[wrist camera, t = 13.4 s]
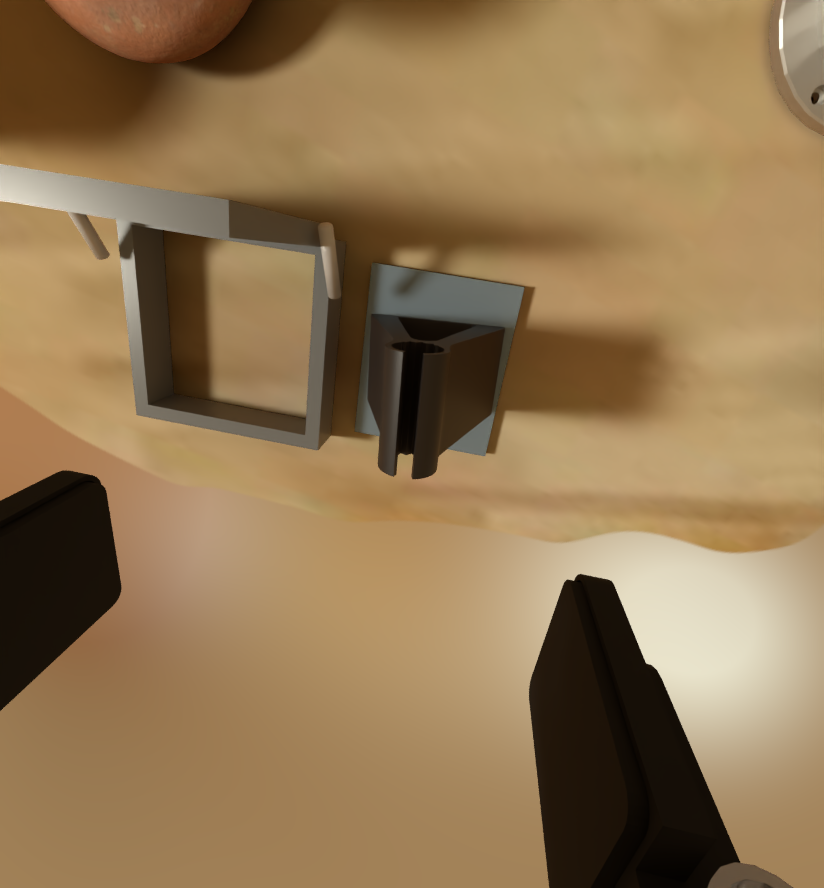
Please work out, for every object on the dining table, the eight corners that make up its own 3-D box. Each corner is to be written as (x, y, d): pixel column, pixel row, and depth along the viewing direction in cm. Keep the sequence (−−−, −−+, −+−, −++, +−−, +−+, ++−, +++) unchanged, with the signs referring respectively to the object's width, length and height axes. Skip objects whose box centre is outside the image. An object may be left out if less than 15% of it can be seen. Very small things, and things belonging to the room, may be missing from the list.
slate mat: (523, 287, 29) (524, 287, 28) (485, 453, 34) (485, 456, 33) (373, 262, 30) (371, 262, 29) (356, 428, 34) (354, 431, 34)
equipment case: (362, 230, 29) (256, 201, 15) (343, 438, 35) (253, 552, 21) (132, 194, 30) (-159, 137, 16) (151, 401, 36) (-53, 486, 22)
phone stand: (505, 327, 29) (521, 365, 18) (490, 413, 32) (497, 492, 21) (372, 312, 30) (311, 340, 19) (367, 396, 33) (311, 465, 22)
